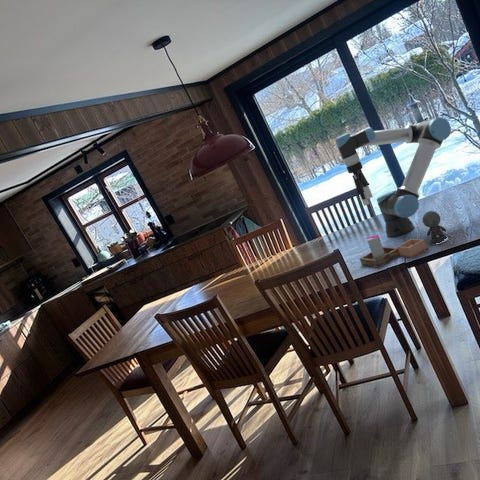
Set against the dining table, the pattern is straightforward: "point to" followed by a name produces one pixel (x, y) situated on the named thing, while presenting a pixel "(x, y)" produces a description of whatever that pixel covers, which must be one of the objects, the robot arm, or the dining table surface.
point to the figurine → (434, 227)
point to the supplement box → (375, 246)
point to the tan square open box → (412, 248)
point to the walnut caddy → (389, 255)
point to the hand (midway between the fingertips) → (368, 201)
